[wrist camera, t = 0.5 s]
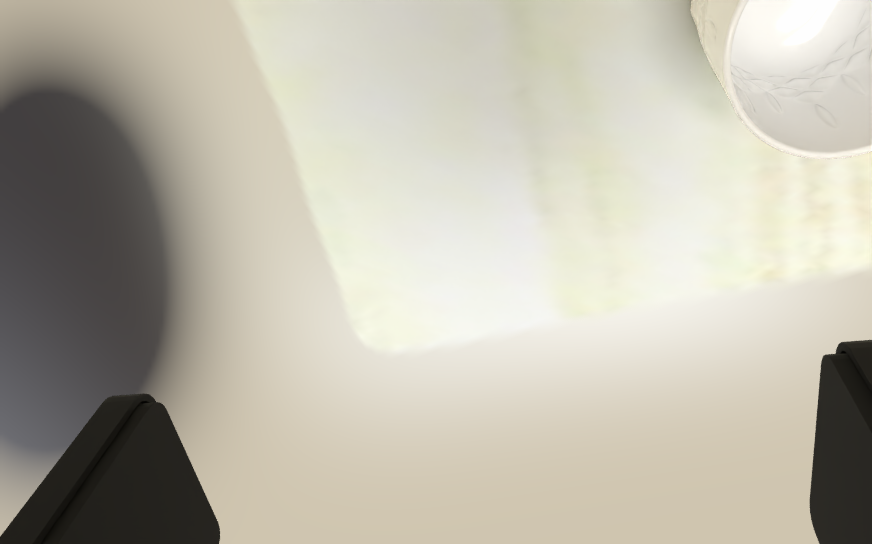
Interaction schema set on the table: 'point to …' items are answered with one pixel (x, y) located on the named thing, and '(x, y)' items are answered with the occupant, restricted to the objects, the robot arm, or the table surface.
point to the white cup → (794, 70)
